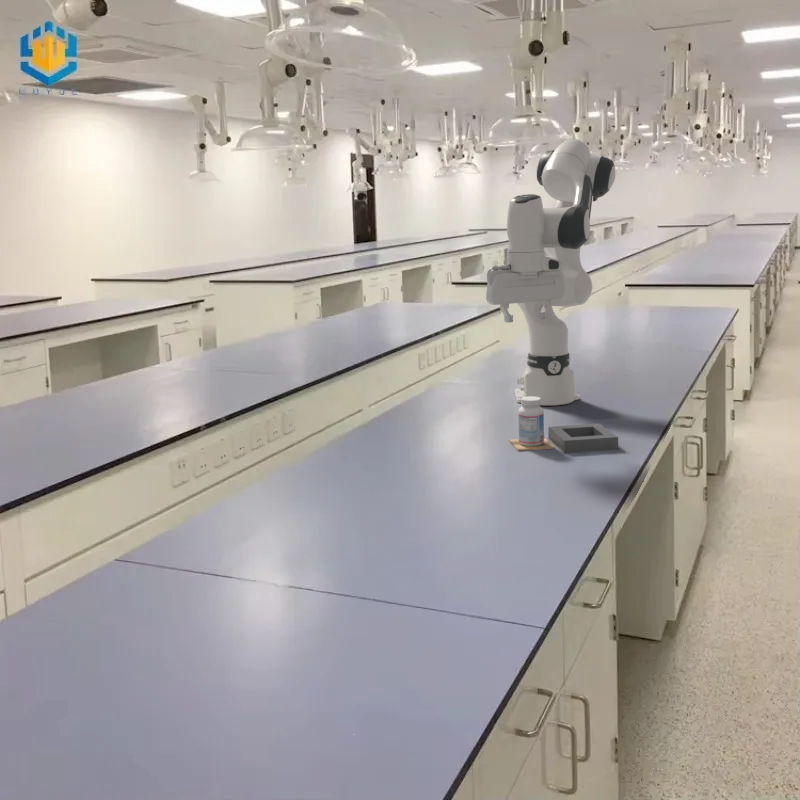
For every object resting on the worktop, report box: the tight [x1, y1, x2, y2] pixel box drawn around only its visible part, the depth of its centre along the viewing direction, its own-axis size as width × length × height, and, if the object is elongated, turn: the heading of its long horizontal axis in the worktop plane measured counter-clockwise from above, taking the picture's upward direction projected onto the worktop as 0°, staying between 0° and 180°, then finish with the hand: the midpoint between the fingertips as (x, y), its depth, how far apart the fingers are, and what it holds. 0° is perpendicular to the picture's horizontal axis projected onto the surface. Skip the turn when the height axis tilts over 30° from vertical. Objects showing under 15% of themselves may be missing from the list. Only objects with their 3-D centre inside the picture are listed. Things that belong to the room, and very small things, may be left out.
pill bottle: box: [517, 396, 545, 446], centre depth 207 cm, size 6×6×11 cm
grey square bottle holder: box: [547, 423, 619, 454], centre depth 207 cm, size 13×13×3 cm
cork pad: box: [508, 436, 556, 452], centre depth 208 cm, size 9×9×1 cm
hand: (525, 320), depth 210 cm, fingers open, 8 cm apart
